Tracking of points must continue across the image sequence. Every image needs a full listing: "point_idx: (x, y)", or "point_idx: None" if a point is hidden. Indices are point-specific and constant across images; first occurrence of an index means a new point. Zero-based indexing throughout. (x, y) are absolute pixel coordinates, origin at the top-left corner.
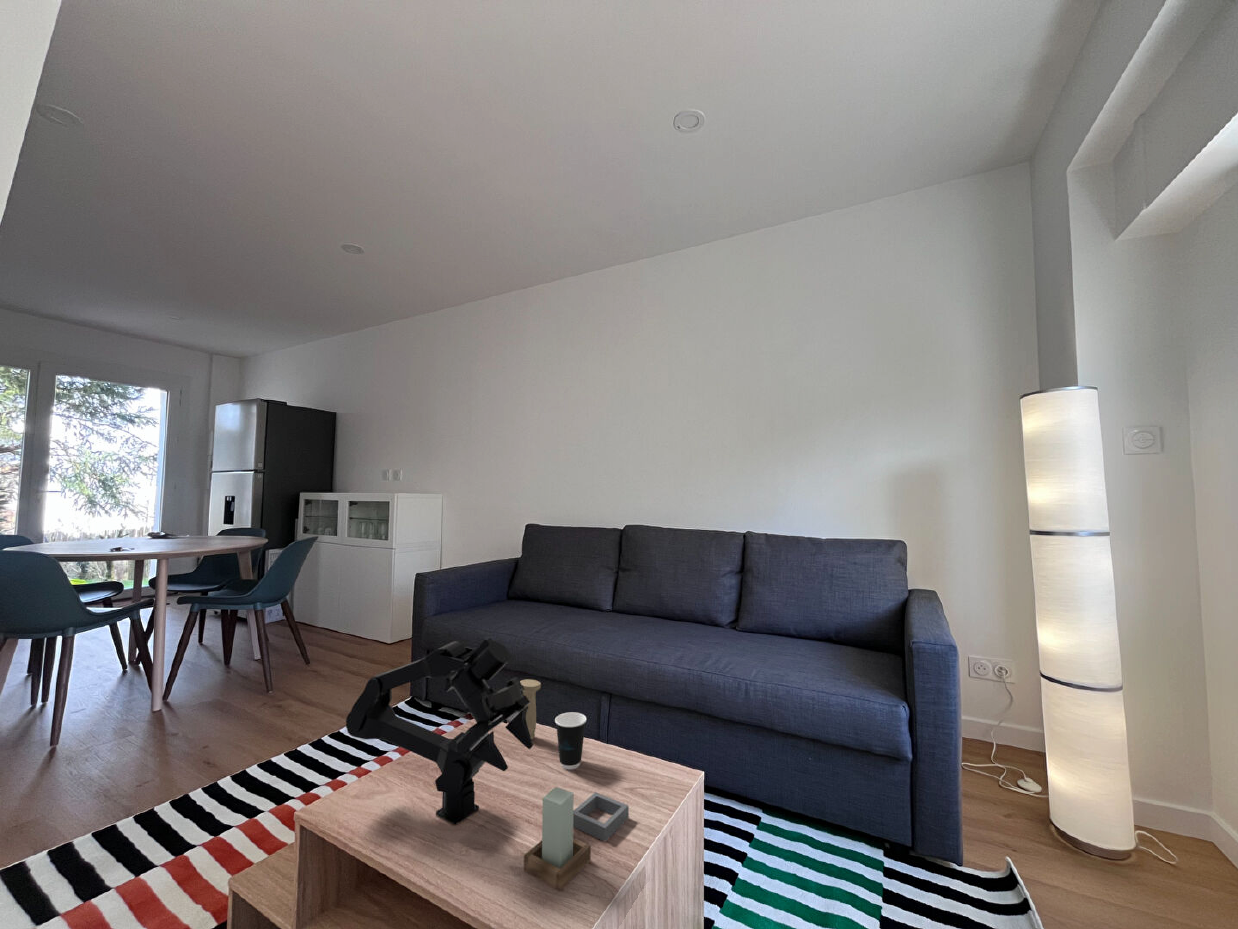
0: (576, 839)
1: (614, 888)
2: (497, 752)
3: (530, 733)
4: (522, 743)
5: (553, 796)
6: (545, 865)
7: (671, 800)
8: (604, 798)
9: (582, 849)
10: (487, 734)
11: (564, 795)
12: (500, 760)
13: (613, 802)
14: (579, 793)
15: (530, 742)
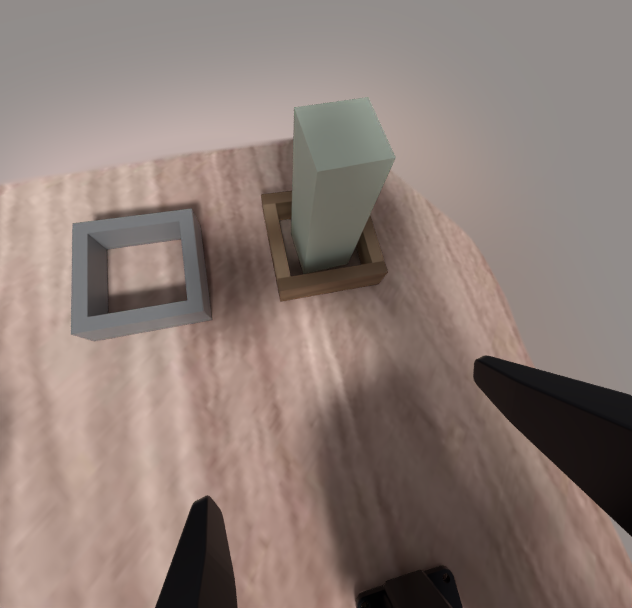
0: (268, 228)
1: (281, 146)
2: (629, 407)
3: None
4: (236, 600)
5: (361, 138)
6: (368, 218)
7: None
8: (84, 290)
9: (281, 199)
10: None
11: (328, 117)
12: (558, 379)
13: (85, 260)
14: (74, 421)
15: (205, 521)
